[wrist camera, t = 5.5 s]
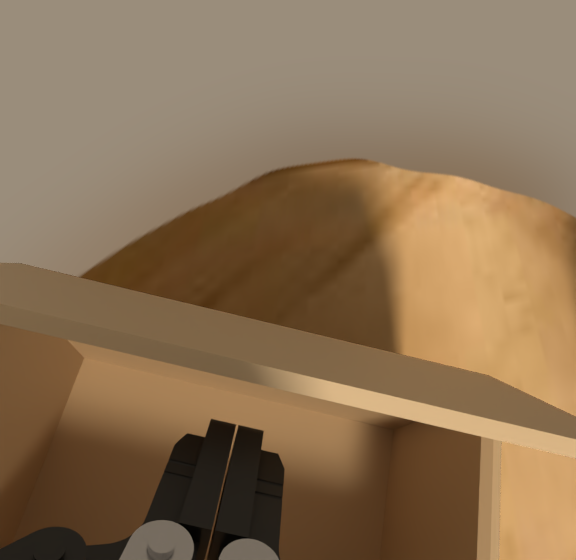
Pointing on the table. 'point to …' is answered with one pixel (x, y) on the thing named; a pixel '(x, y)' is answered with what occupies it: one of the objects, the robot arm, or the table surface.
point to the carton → (241, 411)
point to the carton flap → (279, 357)
